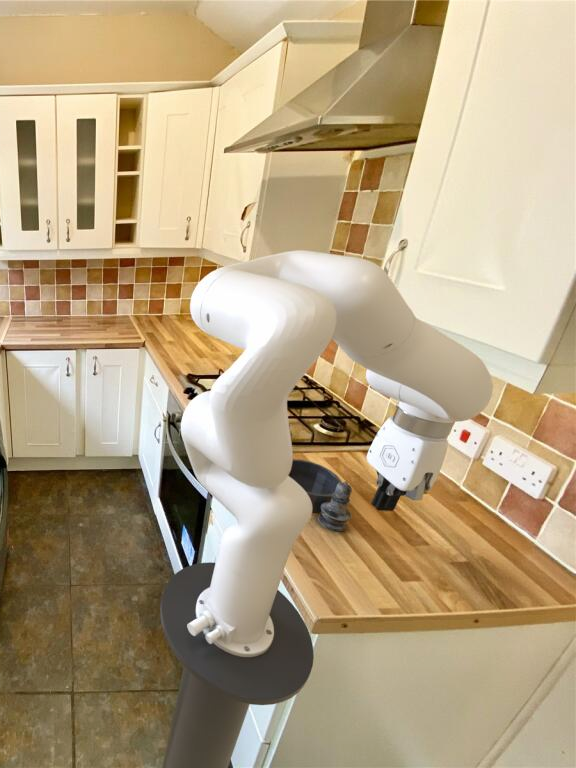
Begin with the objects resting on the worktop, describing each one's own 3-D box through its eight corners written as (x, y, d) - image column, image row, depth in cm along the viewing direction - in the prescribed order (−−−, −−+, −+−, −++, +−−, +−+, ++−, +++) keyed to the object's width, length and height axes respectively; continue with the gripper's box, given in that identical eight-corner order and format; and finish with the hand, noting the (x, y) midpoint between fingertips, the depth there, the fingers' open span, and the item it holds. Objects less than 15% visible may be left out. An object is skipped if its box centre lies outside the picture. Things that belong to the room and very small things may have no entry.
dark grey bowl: (314, 520, 95) (320, 504, 93) (260, 485, 106) (264, 469, 104) (349, 499, 101) (355, 483, 99) (294, 468, 113) (298, 453, 110)
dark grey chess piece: (341, 516, 96) (357, 475, 91) (350, 534, 91) (367, 492, 86) (313, 511, 97) (327, 470, 92) (320, 529, 92) (336, 487, 87)
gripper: (369, 400, 75) (337, 481, 83) (436, 446, 62) (391, 537, 69) (409, 402, 76) (373, 482, 83) (485, 447, 62) (434, 538, 70)
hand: (382, 507), depth 76 cm, fingers closed
